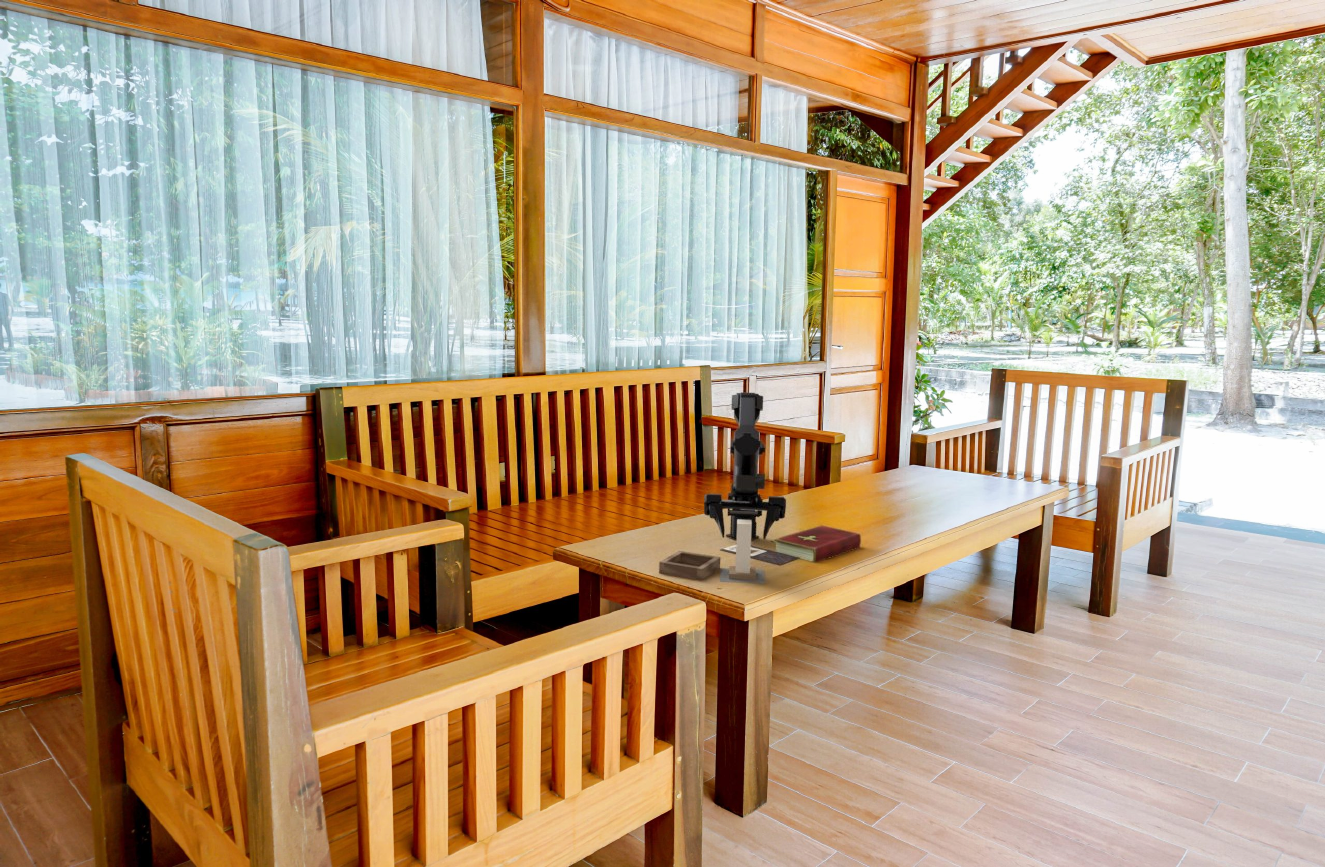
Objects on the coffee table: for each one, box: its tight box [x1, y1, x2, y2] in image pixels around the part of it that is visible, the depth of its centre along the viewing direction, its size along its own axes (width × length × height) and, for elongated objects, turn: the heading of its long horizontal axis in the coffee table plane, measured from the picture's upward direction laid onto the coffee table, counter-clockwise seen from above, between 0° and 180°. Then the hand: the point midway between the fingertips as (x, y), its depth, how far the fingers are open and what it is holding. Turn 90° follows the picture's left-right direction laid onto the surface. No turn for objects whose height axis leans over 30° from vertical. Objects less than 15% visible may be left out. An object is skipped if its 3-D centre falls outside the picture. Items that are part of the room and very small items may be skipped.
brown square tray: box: [658, 550, 721, 581], centre depth 203 cm, size 11×11×3 cm
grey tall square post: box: [729, 519, 757, 580], centre depth 199 cm, size 6×6×12 cm
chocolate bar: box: [719, 544, 800, 566], centre depth 218 cm, size 9×1×18 cm
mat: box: [719, 567, 766, 585], centre depth 200 cm, size 10×10×1 cm
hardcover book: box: [773, 524, 862, 563], centre depth 223 cm, size 12×21×4 cm, turn 136°
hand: (743, 537), depth 200 cm, fingers open, 9 cm apart
